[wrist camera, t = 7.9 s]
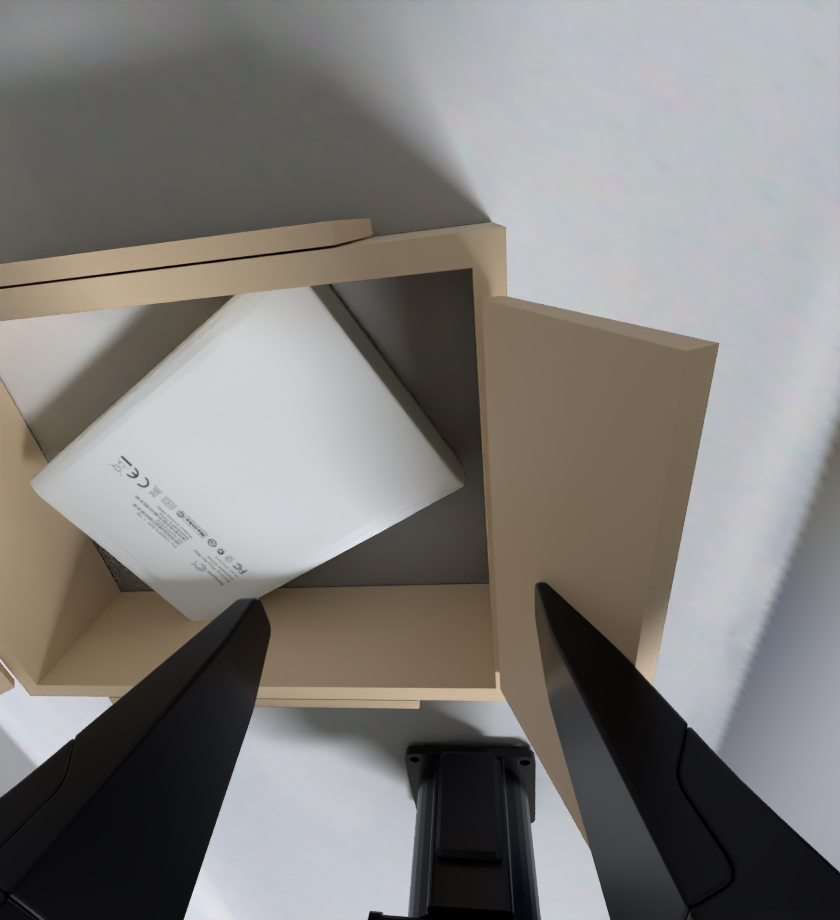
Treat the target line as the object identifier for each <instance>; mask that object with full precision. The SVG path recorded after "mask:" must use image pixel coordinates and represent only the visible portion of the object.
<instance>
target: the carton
mask: <svg viewBox="0 0 840 920" xmlns="http://www.w3.org/2000/svg"><path fill="white" fill-rule="evenodd" d="M372 235H373V232H372V225H371V218H362V219H347V220H332V221H323V222H316V223H308V224H301V225H293V226H285V227H278V228H270V229H263V230H255V231H247V232H240V233H232V234H225V235H217V236H209V237H202V238H194V239H187V240H179V241H171V242H164V243H156V244H149V245H141V246H133V247H126V248H118V249H111V250H103V251H95V252H88V253H80V254H73V255H65V256H57V257H50V258H42V259H35V260H27V261H19V262H12V263H4V264H0V321H5V320H14V319H23V318H32V317H41V316H50V315H59V314H67V313H76V312H85V311H94V310H103V309H112V308H121V307H129V306H138V305H147V304H156V303H165V302H174V301H183V300H192V299H200V298H209V297H218V296H227V295H236V294H245V293H254V292H262V291H271V290H280V289H289V288H298V287H307V286H316V285H324V284H333V283H342V282H351V281H360V280H369V279H378V278H387V277H395V276H404V275H413V274H422V273H431V272H440V271H449V270H457V269H466V268H472V281H473V299H474V317H475V335H476V353H477V370H478V388H479V406H480V424H481V442H482V460H483V478H484V496H485V514H486V532H487V549H488V567H489V584H447V585H403V586H358V587H314V588H276V589H274V590H273V591H271V592H269V593H267V594H265V595H263V596H261V597H259V599H260V600H261V602H262V604H263V607H264V609H265V612H266V614H267V617H268V619H269V622H270V625H271V636H270V640H269V645H268V649H267V654H266V658H265V663H264V667H263V672H262V676H261V681H260V685H259V689H258V694H257V698H256V702H255V706H254V707H324V708H398V709H419V707H420V700H460V701H507V700H506V699H505V697H504V695H503V693H502V692H501V690H500V671H499V650H498V629H497V608H496V587H495V566H494V545H493V524H492V504H491V483H490V462H489V441H488V420H487V399H486V378H485V357H484V336H483V315H482V299H485V298H490V297H496V296H501V295H502V296H506V297H507V263H506V227H504V226H502V225H499V224H496V223H494V222H488V223H480V224H472V225H464V226H456V227H448V228H440V229H432V230H424V231H416V232H408V233H400V234H392V235H384V236H376V237H368V236H372ZM364 237H368V238H364ZM47 464H48V462H47V460H46V458H45V457H44V455H43V453H42V451H41V449H40V448H39V446H38V444H37V442H36V441H35V439H34V437H33V435H32V434H31V432H30V430H29V428H28V427H27V425H26V423H25V421H24V419H23V418H22V416H21V414H20V412H19V411H18V409H17V407H16V405H15V404H14V402H13V400H12V398H11V397H10V395H9V393H8V391H7V389H6V388H5V386H4V384H3V382H2V381H1V379H0V659H1V660H2V661H3V662H4V664H5V665H6V666H7V667H8V669H9V670H10V671H11V672H12V674H13V675H14V676H15V677H16V679H17V680H18V681H19V682H20V684H21V685H22V686H23V687H24V688H25V690H26V691H27V692H28V693H29V695H30V696H92V697H109V699H110V700H111V702H112V703H113V704H114V703H115V702H117V701H118V700H119V699H120V698H121V697H122V696H124V695H125V694H126V693H127V692H128V691H130V690H131V689H132V688H133V687H134V686H135V685H137V684H138V683H139V682H140V681H141V680H143V679H144V678H145V677H146V676H147V675H148V674H150V673H151V672H152V671H153V670H154V669H156V668H157V667H158V666H159V665H160V664H161V663H163V662H164V661H165V660H166V659H167V658H169V657H170V656H171V655H172V654H173V653H174V652H176V651H177V650H178V649H179V648H180V647H182V646H183V645H184V644H185V643H186V642H188V641H189V640H190V639H191V638H192V637H193V636H195V635H196V634H197V633H198V632H199V631H201V630H202V629H203V628H204V627H205V626H206V625H208V624H209V623H210V622H211V621H212V620H214V619H210V620H202V621H191V620H190V619H188V618H187V617H186V616H184V615H183V614H182V613H181V612H180V611H178V610H177V609H176V608H175V607H174V606H173V605H171V604H170V603H169V602H168V601H166V600H165V599H164V598H163V597H162V596H160V595H159V594H158V593H157V592H156V591H136V592H121V591H120V589H119V587H118V585H117V584H116V582H115V580H114V578H113V576H112V575H111V573H110V571H109V569H108V568H107V566H106V564H105V562H104V561H103V559H102V557H101V555H100V554H99V552H98V550H97V548H96V547H95V545H94V543H93V541H92V539H91V538H90V537H89V536H88V535H87V534H85V533H84V532H83V531H82V530H81V529H79V528H78V527H77V526H76V525H74V524H73V523H72V522H71V521H69V520H68V519H67V518H66V517H64V516H63V515H62V514H61V513H60V512H58V511H57V510H56V509H55V508H53V507H52V506H51V505H50V504H49V503H47V502H46V501H45V500H44V499H43V498H41V497H40V496H39V495H38V494H37V493H36V492H35V491H34V489H33V487H32V486H31V484H30V479H31V478H32V477H34V476H35V475H36V474H37V473H38V472H39V471H40V470H41V469H42V468H44V467H45V466H46V465H47Z"/></svg>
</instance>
